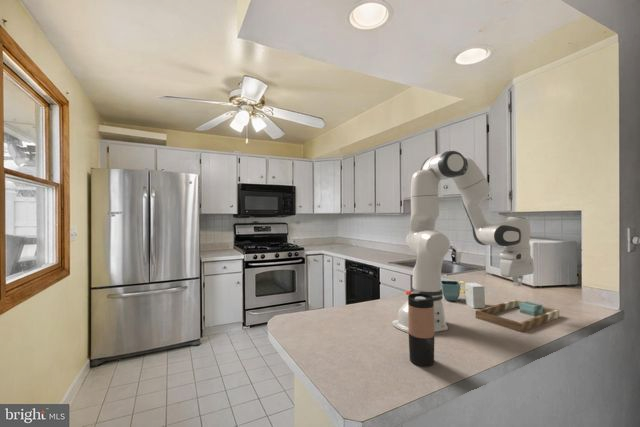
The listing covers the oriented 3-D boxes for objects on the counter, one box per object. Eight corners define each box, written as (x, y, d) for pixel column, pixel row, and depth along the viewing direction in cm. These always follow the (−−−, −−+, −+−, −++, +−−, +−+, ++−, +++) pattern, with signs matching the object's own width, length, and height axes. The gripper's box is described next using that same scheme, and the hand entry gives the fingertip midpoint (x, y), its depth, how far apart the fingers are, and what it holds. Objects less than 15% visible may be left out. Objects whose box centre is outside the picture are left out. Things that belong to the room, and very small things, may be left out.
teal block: (534, 317, 127) (533, 306, 127) (519, 312, 132) (519, 302, 132) (542, 314, 129) (542, 304, 129) (528, 310, 135) (528, 301, 135)
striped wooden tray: (520, 332, 111) (520, 324, 111) (475, 317, 126) (475, 310, 126) (559, 317, 126) (559, 310, 126) (514, 305, 141) (514, 299, 141)
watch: (457, 291, 170) (456, 281, 170) (460, 291, 171) (460, 280, 171) (465, 293, 164) (464, 282, 165) (469, 292, 165) (468, 282, 166)
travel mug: (428, 354, 94) (427, 293, 94) (439, 367, 87) (438, 299, 87) (405, 355, 94) (404, 293, 94) (413, 367, 86) (412, 300, 86)
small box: (485, 308, 138) (484, 286, 138) (473, 308, 138) (473, 286, 139) (476, 303, 146) (476, 282, 146) (465, 303, 146) (464, 282, 147)
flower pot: (442, 301, 150) (442, 284, 150) (440, 296, 159) (440, 280, 159) (461, 302, 148) (460, 285, 148) (458, 297, 156) (457, 281, 156)
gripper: (522, 251, 135) (522, 281, 135) (497, 254, 125) (496, 286, 125) (538, 253, 129) (538, 284, 129) (512, 256, 119) (512, 290, 119)
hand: (517, 285), depth 127 cm, fingers closed
